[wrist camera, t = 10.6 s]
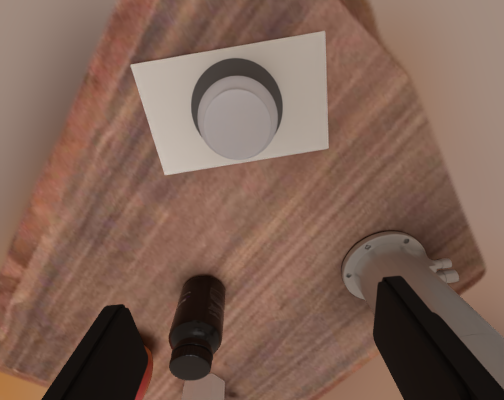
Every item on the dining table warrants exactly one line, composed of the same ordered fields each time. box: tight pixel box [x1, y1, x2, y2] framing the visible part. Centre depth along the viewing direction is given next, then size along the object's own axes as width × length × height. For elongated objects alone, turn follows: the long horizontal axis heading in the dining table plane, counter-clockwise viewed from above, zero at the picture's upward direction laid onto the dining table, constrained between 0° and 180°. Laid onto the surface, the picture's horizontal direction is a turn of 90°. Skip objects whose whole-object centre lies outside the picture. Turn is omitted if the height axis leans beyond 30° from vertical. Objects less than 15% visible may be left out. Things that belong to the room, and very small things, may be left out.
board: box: [131, 31, 329, 175], centre depth 28 cm, size 20×12×1 cm, turn 99°
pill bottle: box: [197, 76, 278, 160], centre depth 22 cm, size 6×6×12 cm
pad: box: [191, 58, 283, 137], centre depth 28 cm, size 10×10×1 cm
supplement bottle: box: [169, 276, 225, 381], centre depth 34 cm, size 7×7×12 cm
